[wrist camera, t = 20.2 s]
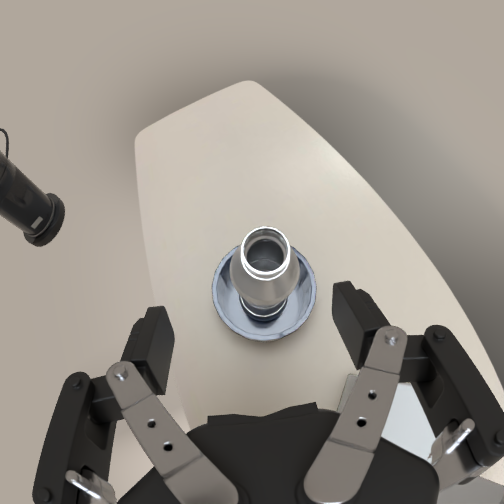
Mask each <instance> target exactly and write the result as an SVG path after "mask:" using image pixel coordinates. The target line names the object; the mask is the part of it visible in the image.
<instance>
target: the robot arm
mask: <svg viewBox="0 0 504 504" xmlns="http://www.w3.org/2000/svg"><path fill="white" fill-rule="evenodd" d="M0 131H2V132H3V133H4V134H5V137H6V156H4V154H3V153H2V152H1V151H0V215H1V216H2V217H3V218H5V219H6V220H8V221H9V222H11V223H12V224H14V225H15V226H16V227H18V228H19V229H21V230H22V231H24V232H25V233H27V234H28V235H29V236H31V237H33V238H36V237H39V236H41V235H42V234H44V233H45V232H46V231H47V229H48V228H49V227H50V225H51V223H52V221H53V219H54V215H55V203H54V201H53V200H52V199H51V198H50V197H48V196H47V195H46V194H45V193H44V192H42V191H41V190H40V189H39V188H38V187H37V186H36V185H35V184H34V183H33V182H32V181H31V180H29V179H28V178H27V177H26V176H25V175H24V174H23V173H22V172H21V171H20V170H19V169H18V168H17V167H16V166H15V165H14V164H13V163H12V162H11V161H10V160H9V159H8V150H9V141H8V135H7V132H6V131H5V130H4V129H1V128H0ZM332 316H333V320H334V323H335V325H336V327H337V329H338V331H339V333H340V335H341V337H342V339H343V342H344V344H345V346H346V348H347V350H348V352H349V354H350V357H351V359H352V361H353V363H354V365H355V368H356V370H359V369H361V370H360V372H359V375H358V377H357V379H356V382H355V384H354V386H353V389H352V391H351V393H350V395H349V398H348V400H347V402H346V404H345V406H344V408H343V410H342V413H339V412H336V411H332V410H326V409H318V408H317V405H316V402H313V403H308V404H303V405H298V406H292V407H288V408H285V409H283V410H280V411H278V412H275V413H272V414H269V415H267V416H263V417H257V416H246V415H237V414H229V415H216V416H208V423H207V424H203V425H201V426H198V427H196V428H194V429H192V430H191V431H189V432H188V433H187V434H185V433H184V431H183V430H182V429H181V428H180V427H179V425H178V424H177V423H176V422H175V420H174V419H173V418H172V417H171V415H170V414H169V413H168V411H167V410H166V409H165V407H164V406H163V405H162V403H161V402H160V401H159V399H158V398H157V397H156V396H157V395H165V392H166V386H167V380H168V374H169V369H170V363H171V358H172V353H173V347H174V341H175V338H174V332H173V328H172V326H171V323H170V320H169V317H168V314H167V311H166V309H165V307H164V306H157V307H149V308H148V309H147V312H146V315H145V317H144V318H140V319H139V320H138V321H137V322H136V323H135V324H134V325H133V328H132V331H131V335H130V336H129V338H128V341H127V344H126V346H125V349H124V352H123V355H122V357H121V360H120V362H117V363H115V364H114V365H112V366H111V367H110V368H109V369H108V371H107V373H106V375H105V376H101V377H97V378H93V379H90V377H89V376H88V375H87V374H86V373H84V372H76V373H73V374H71V375H70V376H69V377H68V378H67V379H66V381H65V383H64V385H63V388H62V390H61V393H60V396H59V398H58V401H57V404H56V407H55V410H54V413H53V416H52V419H51V422H50V425H49V428H48V431H47V435H46V438H45V441H44V445H43V449H42V452H41V456H40V460H39V464H38V468H37V473H36V477H35V481H34V486H33V492H32V497H33V501H34V503H35V504H437V500H438V495H439V493H441V492H443V491H445V490H447V489H449V488H451V487H452V486H454V485H456V484H458V485H464V484H467V483H469V482H471V481H472V480H473V479H475V478H476V477H478V476H479V475H480V474H482V473H483V472H485V471H486V470H487V469H488V468H490V467H491V466H492V465H494V464H495V463H496V462H497V461H499V460H500V459H501V458H502V457H503V456H504V412H503V410H502V408H501V407H500V405H499V403H498V402H497V400H496V398H495V396H494V395H493V393H492V391H491V390H490V388H489V387H488V385H487V383H486V382H485V380H484V379H483V377H482V375H481V374H480V372H479V371H478V369H477V368H476V366H475V365H474V363H473V362H472V360H471V359H470V357H469V356H468V354H467V353H466V352H465V350H464V349H463V347H462V346H461V344H460V343H459V342H458V340H457V339H456V338H455V336H454V335H453V333H452V332H451V331H450V330H449V329H448V328H446V327H444V326H441V325H432V326H430V327H428V328H427V329H426V331H425V333H424V335H407V334H406V333H405V332H404V331H403V330H402V329H401V328H399V327H396V326H391V325H390V323H389V322H388V320H387V319H386V317H385V316H384V315H383V313H382V312H381V310H380V309H379V308H378V306H377V305H376V303H375V302H374V300H373V299H372V298H371V296H370V295H369V294H368V293H366V292H365V291H363V290H362V289H358V290H356V289H355V288H354V286H353V285H352V283H351V282H350V281H344V282H338V283H334V285H333V298H332ZM405 382H410V383H411V385H412V387H413V389H414V391H415V393H416V396H417V398H418V400H419V402H420V404H421V406H422V409H423V411H424V413H425V415H426V417H427V420H428V422H429V424H430V427H431V429H432V431H433V434H434V436H435V438H436V439H435V440H434V442H433V444H432V446H431V456H432V463H431V464H430V463H429V462H428V461H426V460H425V459H423V458H421V457H419V456H417V455H415V454H413V453H411V452H409V451H407V450H405V449H403V448H402V447H400V446H398V445H396V444H394V443H392V442H391V441H389V440H387V439H385V438H383V437H382V436H381V435H382V432H383V429H384V426H385V424H386V421H387V418H388V415H389V412H390V409H391V406H392V402H393V399H394V396H395V393H396V389H397V386H398V383H405ZM122 419H125V420H126V422H127V424H128V425H129V427H130V429H131V430H132V432H133V434H134V435H135V437H136V439H137V440H138V442H139V444H140V445H141V447H142V448H143V450H144V452H145V453H146V454H147V456H148V458H149V459H150V460H151V462H152V463H153V465H154V467H153V468H152V469H151V470H150V471H149V472H148V473H147V474H146V475H145V476H144V477H143V478H142V479H141V480H140V481H138V482H137V483H136V485H134V486H133V487H132V488H131V489H130V490H129V491H128V492H127V493H126V494H125V495H124V496H123V497H121V498H120V500H119V501H118V502H116V497H115V491H114V489H113V487H112V486H111V484H109V483H108V476H109V468H110V461H111V453H112V447H113V440H114V434H115V429H116V423H117V421H118V420H122Z"/></svg>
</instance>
